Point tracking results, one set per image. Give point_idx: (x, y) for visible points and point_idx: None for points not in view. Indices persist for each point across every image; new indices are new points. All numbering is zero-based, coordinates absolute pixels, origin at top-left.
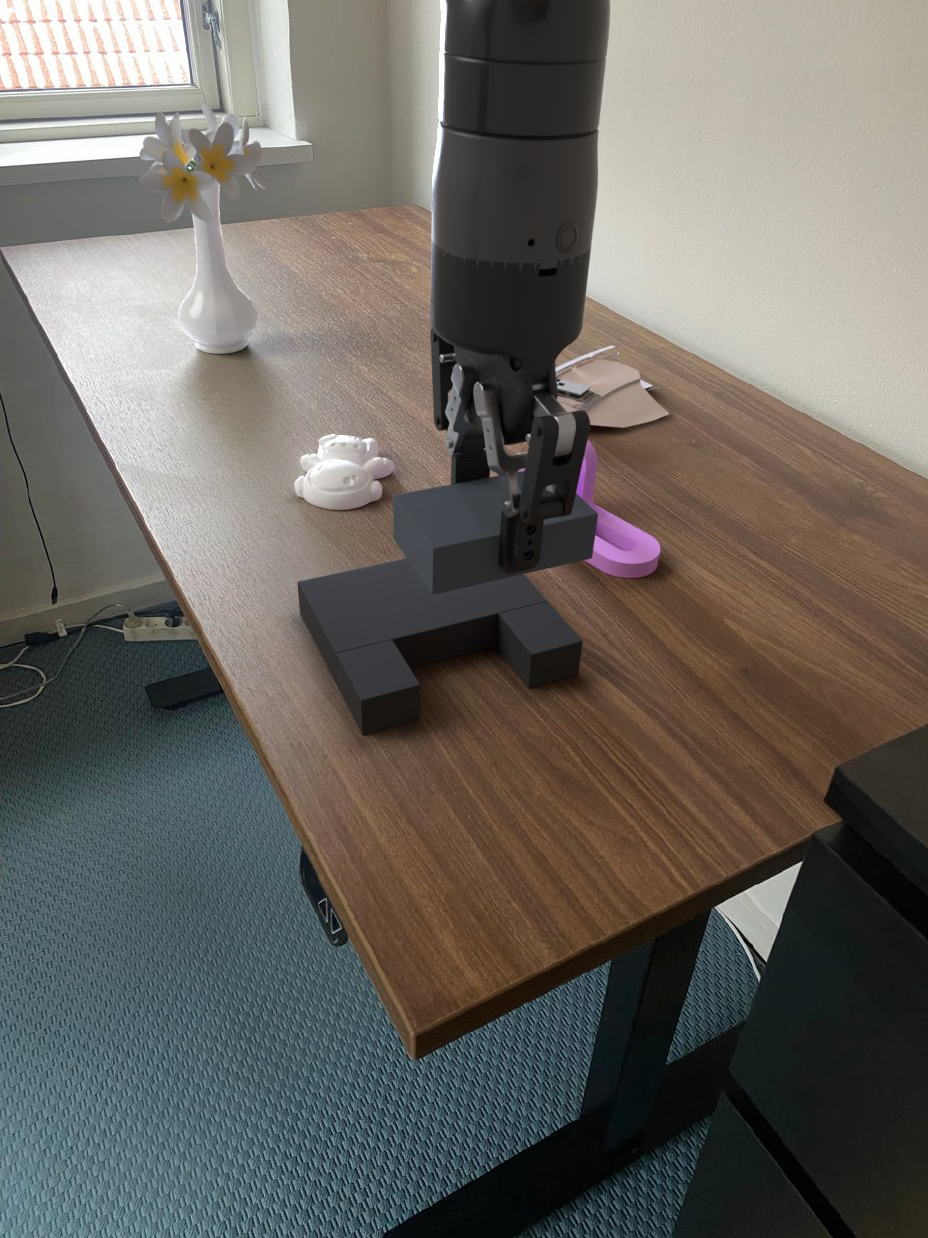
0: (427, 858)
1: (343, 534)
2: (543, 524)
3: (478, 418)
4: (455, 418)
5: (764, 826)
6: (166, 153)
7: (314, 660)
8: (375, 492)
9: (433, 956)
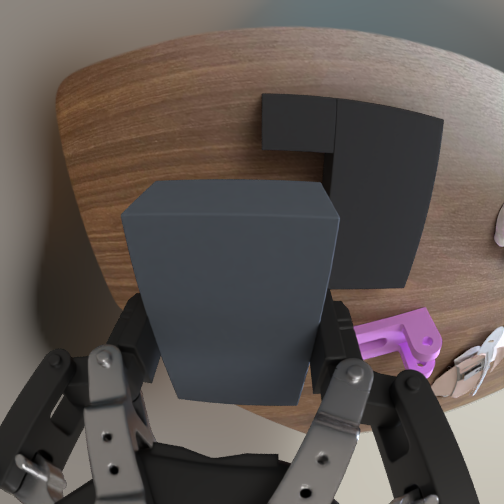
0: (132, 105)
1: (483, 196)
2: (164, 360)
3: (226, 477)
4: (299, 450)
5: (118, 287)
6: None
7: (368, 95)
8: (498, 239)
9: (77, 95)
